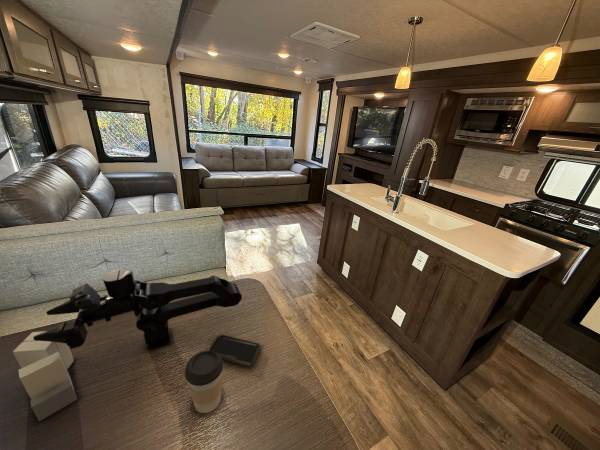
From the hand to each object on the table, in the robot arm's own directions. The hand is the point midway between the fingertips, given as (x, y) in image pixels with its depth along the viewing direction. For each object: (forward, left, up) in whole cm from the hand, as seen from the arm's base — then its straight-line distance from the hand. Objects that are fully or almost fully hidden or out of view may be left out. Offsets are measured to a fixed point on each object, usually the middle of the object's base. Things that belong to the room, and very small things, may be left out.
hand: (40, 325), depth 64 cm
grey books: (-2, +9, -16) cm, 19 cm away
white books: (+1, +1, -16) cm, 16 cm away
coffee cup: (-37, +25, -17) cm, 48 cm away
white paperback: (-2, +9, -16) cm, 19 cm away
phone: (-47, +13, -16) cm, 52 cm away
